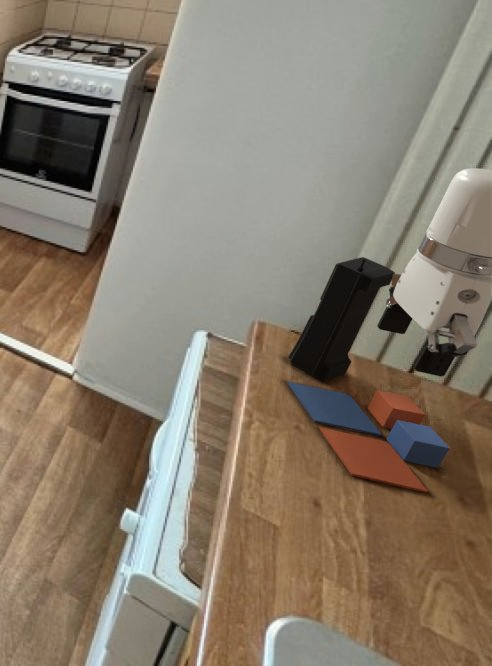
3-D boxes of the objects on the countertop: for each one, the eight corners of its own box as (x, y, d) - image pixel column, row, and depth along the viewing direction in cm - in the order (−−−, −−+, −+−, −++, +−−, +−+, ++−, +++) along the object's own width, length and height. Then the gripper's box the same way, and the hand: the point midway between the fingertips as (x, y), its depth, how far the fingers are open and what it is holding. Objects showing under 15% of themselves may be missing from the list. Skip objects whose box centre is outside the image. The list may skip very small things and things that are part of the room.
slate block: (419, 446, 96) (430, 426, 94) (437, 468, 92) (450, 448, 90) (386, 439, 97) (396, 419, 95) (403, 460, 93) (415, 440, 92)
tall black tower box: (312, 351, 116) (362, 240, 107) (349, 373, 110) (406, 258, 101) (284, 360, 113) (334, 247, 104) (321, 382, 108) (377, 266, 99)
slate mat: (348, 396, 105) (349, 394, 105) (381, 436, 97) (382, 434, 97) (287, 383, 108) (288, 381, 108) (314, 421, 100) (315, 420, 100)
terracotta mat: (387, 443, 96) (388, 442, 96) (427, 493, 88) (428, 491, 88) (319, 429, 99) (320, 427, 98) (351, 475, 91) (352, 473, 90)
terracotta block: (397, 414, 102) (408, 395, 100) (414, 434, 98) (425, 414, 96) (367, 408, 103) (376, 389, 101) (382, 427, 99) (393, 408, 98)
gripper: (543, 295, 75) (480, 399, 82) (455, 231, 90) (407, 322, 97) (463, 281, 78) (408, 383, 84) (390, 221, 93) (348, 310, 99)
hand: (408, 350), depth 91 cm, fingers open, 9 cm apart
